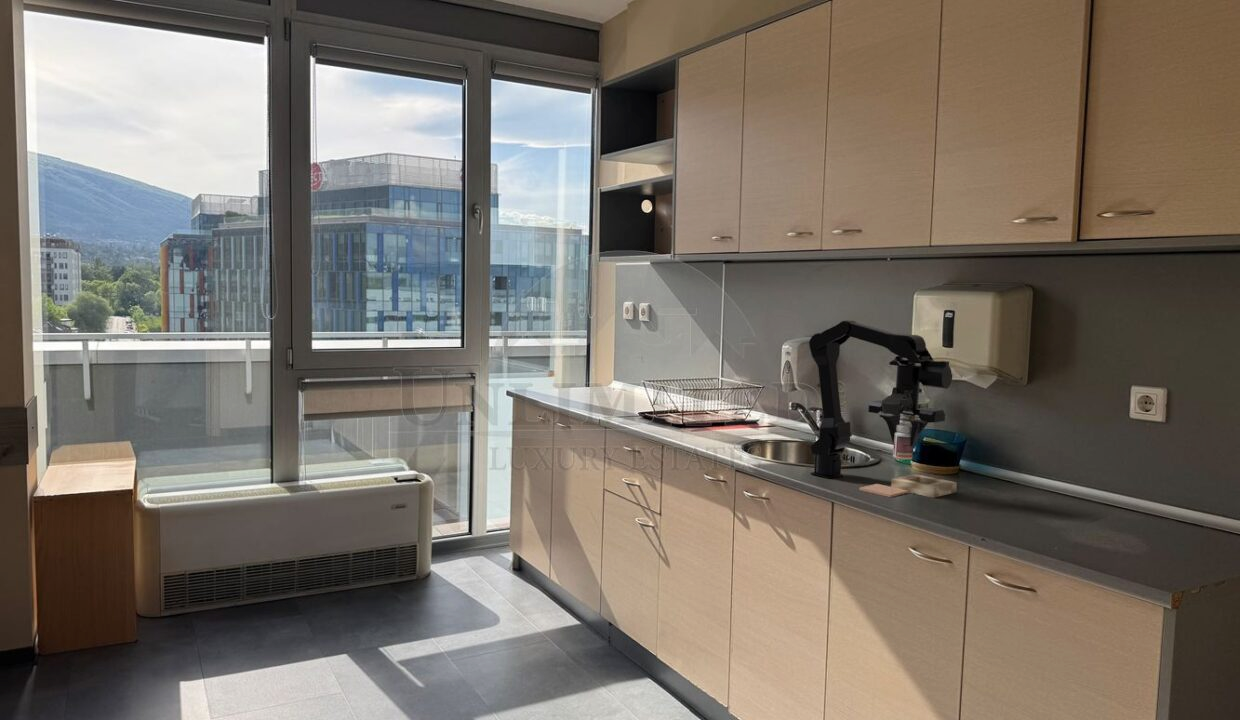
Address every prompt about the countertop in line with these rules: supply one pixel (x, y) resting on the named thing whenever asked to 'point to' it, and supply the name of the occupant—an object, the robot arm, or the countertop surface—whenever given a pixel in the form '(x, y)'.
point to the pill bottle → (903, 442)
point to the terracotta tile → (883, 490)
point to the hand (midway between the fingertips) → (903, 444)
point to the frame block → (924, 485)
